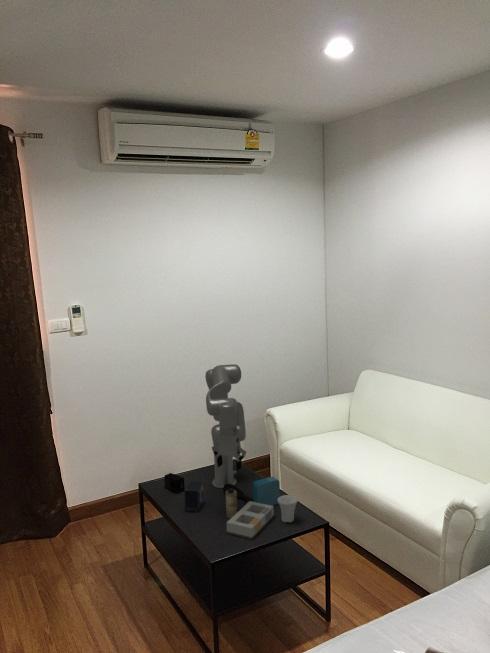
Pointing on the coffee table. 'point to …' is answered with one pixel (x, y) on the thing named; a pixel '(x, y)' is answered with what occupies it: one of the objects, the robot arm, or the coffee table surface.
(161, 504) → the coffee table surface
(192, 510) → the small box
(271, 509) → the socket block
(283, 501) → the cup
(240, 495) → the hairbrush
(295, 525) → the coffee table surface
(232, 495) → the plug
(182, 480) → the digital camera
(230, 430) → the robot arm
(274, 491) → the data package
